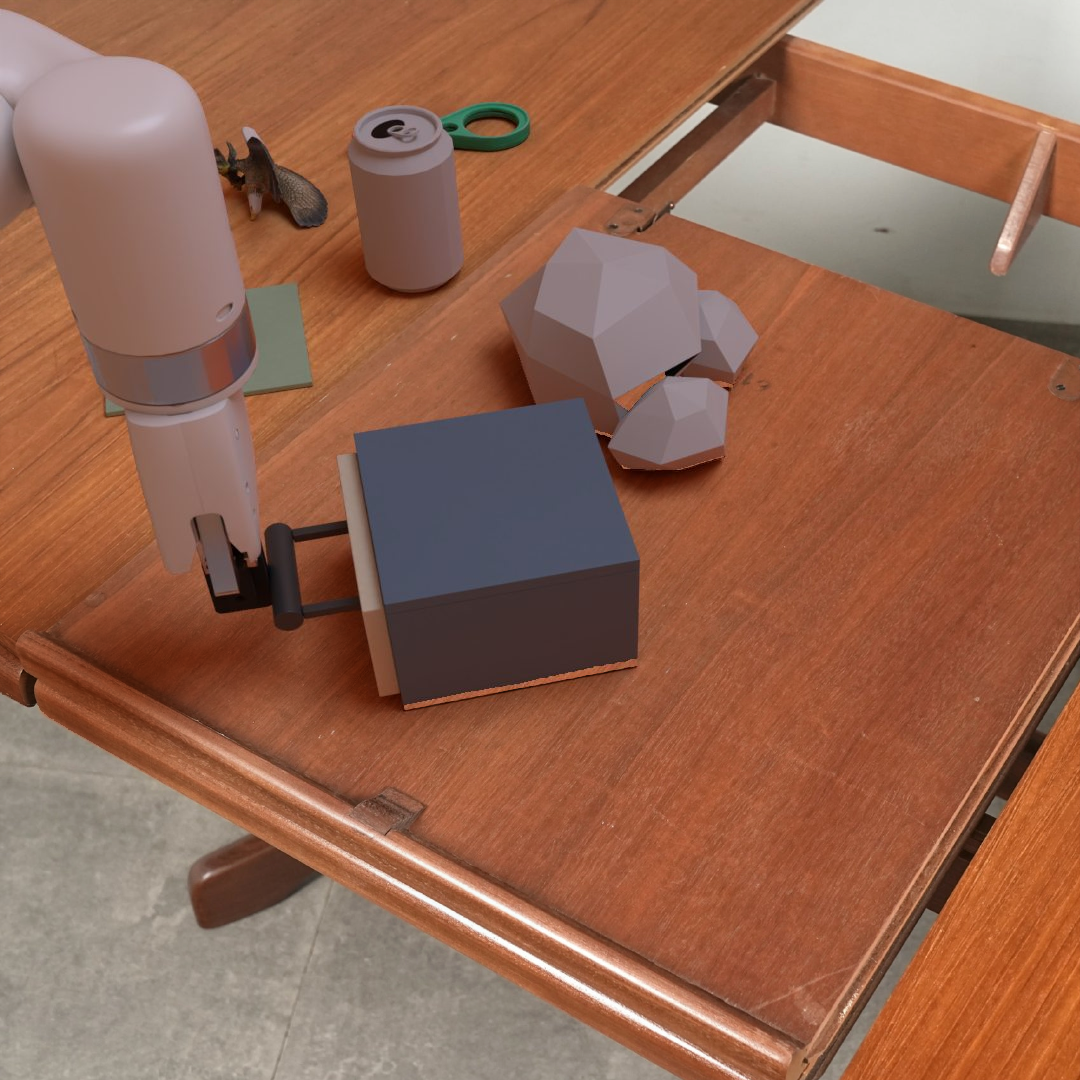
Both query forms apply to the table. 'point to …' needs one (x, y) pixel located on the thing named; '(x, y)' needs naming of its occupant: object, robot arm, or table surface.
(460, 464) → the cabinet
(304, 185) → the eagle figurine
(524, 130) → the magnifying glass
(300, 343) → the mat
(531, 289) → the rock
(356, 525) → the drawer
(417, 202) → the can
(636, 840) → the table surface
